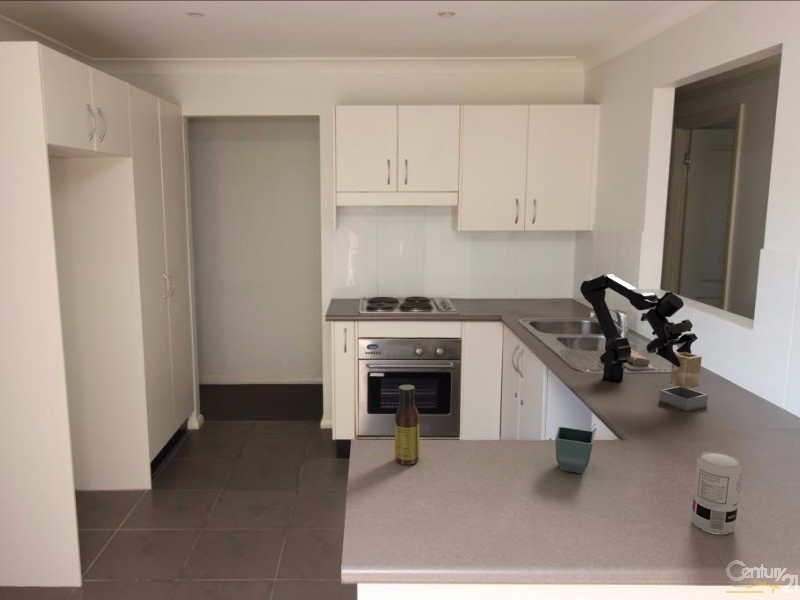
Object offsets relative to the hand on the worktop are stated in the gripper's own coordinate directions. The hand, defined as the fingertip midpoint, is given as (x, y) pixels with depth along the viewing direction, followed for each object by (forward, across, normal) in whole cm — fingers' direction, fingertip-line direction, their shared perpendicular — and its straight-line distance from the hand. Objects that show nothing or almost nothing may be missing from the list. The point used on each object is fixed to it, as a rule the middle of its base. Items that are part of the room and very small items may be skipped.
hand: (685, 365), depth 204 cm
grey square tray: (+10, 0, +9) cm, 13 cm away
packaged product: (-19, +24, +39) cm, 50 cm away
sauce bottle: (+7, -102, +12) cm, 103 cm away
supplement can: (+47, -60, -29) cm, 82 cm away
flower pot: (+23, -67, -4) cm, 71 cm away
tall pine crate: (+5, 0, +5) cm, 7 cm away
